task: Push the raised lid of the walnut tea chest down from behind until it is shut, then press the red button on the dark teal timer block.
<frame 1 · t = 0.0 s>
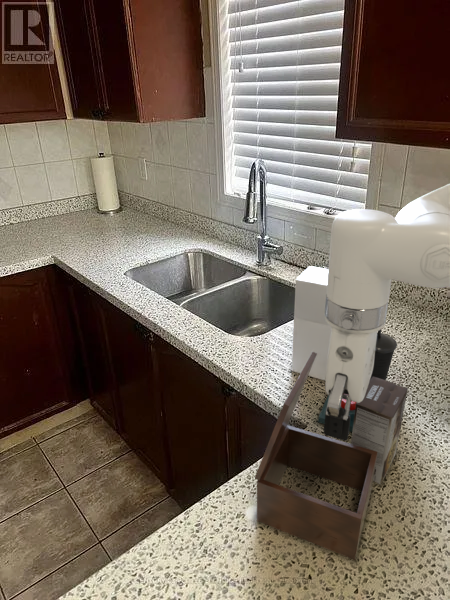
hand: (343, 414, 64), 21 cm above the worktop, tool pointing down, fingers open, 9 cm apart
lid: (286, 415, 69), point 18 cm above the worktop, hinge at 75.0°
chest: (315, 508, 75), on the worktop
coffee box: (371, 464, 83), on the worktop
drinking cup: (370, 393, 101), on the worktop
button: (348, 401, 92), point 4 cm above the worktop, slide at 0.1 cm
timer block: (347, 418, 94), on the worktop
tall white carton: (314, 369, 110), on the worktop
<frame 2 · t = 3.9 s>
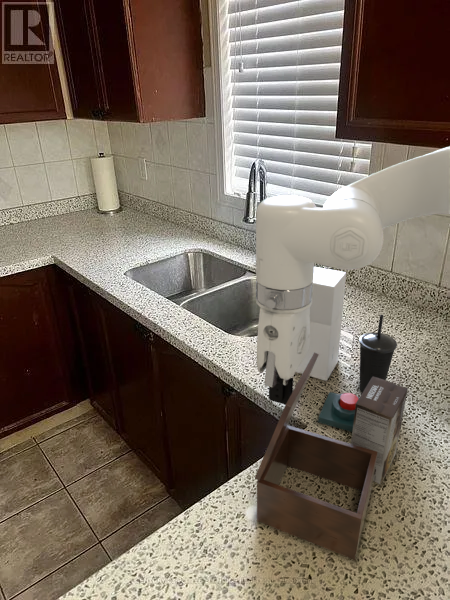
hand: (280, 399, 68), 21 cm above the worktop, tool pointing down, fingers closed
lid: (287, 415, 69), point 18 cm above the worktop, hinge at 74.0°, touching gripper
everything else where it was.
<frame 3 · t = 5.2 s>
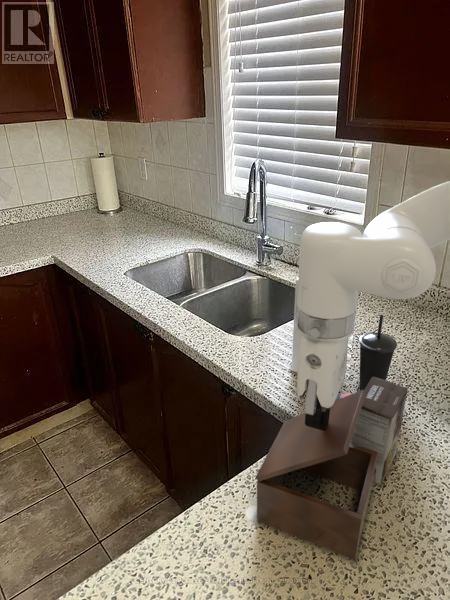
hand: (316, 424, 67), 18 cm above the worktop, tool pointing down, fingers closed
lid: (311, 435, 68), point 16 cm above the worktop, hinge at 41.0°, touching gripper
everything else where it was.
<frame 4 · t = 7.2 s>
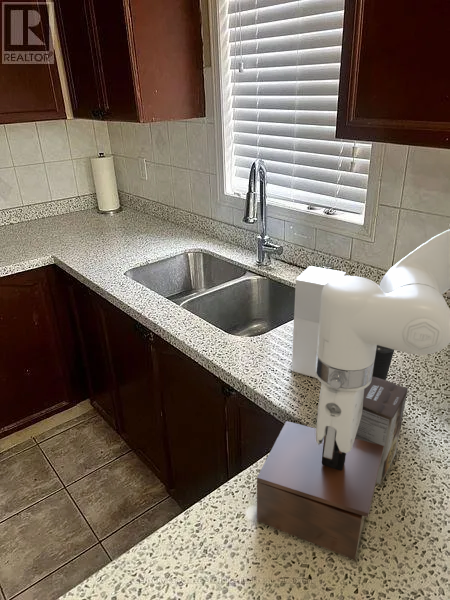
hand: (333, 464, 69), 11 cm above the worktop, tool pointing down, fingers closed
lid: (322, 463, 70), point 11 cm above the worktop, hinge at 2.7°, touching gripper
everything else where it was.
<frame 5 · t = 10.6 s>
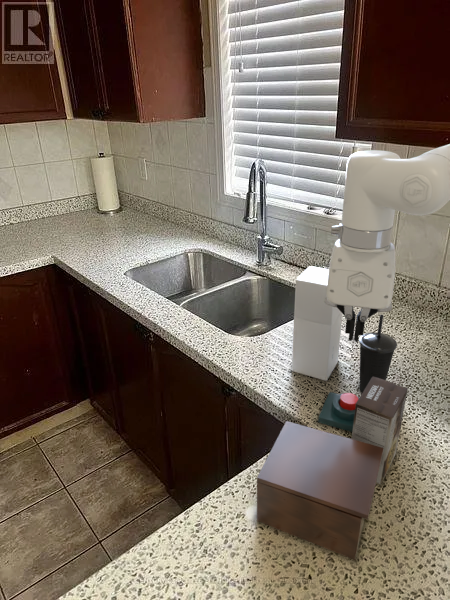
hand: (353, 337, 77), 24 cm above the worktop, tool pointing down, fingers closed
lid: (321, 464, 70), point 10 cm above the worktop, hinge at 1.2°
everything else where it was.
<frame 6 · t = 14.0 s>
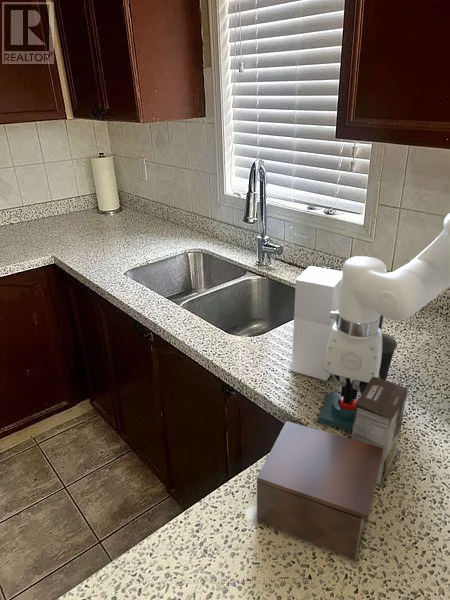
hand: (348, 399, 92), 5 cm above the worktop, tool pointing down, fingers closed
button: (348, 403, 92), point 4 cm above the worktop, slide at -0.4 cm, touching gripper
everything else where it was.
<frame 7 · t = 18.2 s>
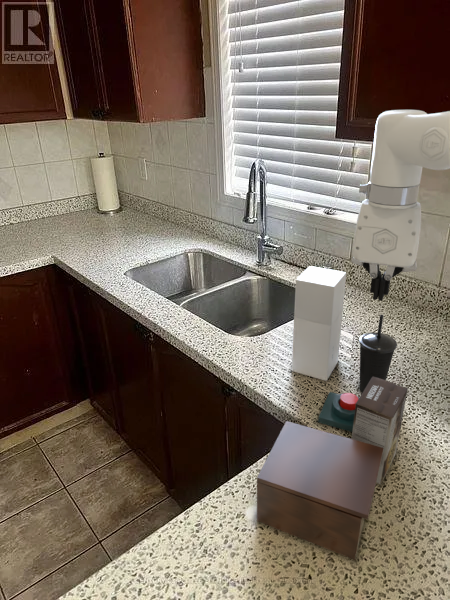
hand: (378, 296, 79), 29 cm above the worktop, tool pointing down, fingers closed
button: (348, 401, 92), point 4 cm above the worktop, slide at 0.1 cm
everything else where it was.
at the end: lid at +1° (first picture: +75°); button pushed in 1.1 cm at the most during the clip, back to where it started at the end; button slide at 0.1 cm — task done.
